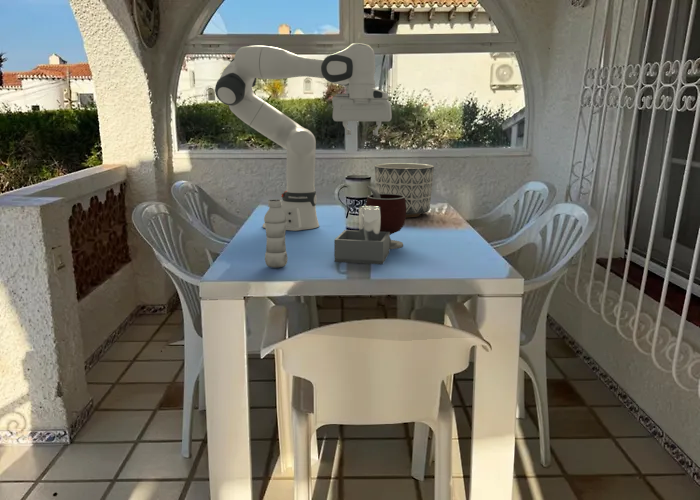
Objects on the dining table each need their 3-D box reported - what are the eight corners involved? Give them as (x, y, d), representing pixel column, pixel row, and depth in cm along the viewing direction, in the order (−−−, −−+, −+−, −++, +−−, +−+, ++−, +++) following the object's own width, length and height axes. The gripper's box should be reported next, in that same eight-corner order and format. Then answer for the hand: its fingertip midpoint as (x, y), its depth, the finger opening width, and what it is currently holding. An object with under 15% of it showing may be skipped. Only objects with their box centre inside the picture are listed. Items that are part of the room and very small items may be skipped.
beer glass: (379, 257, 180) (379, 209, 176) (356, 256, 181) (357, 208, 178) (381, 252, 187) (382, 206, 183) (360, 251, 188) (360, 205, 184)
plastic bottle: (265, 264, 175) (263, 198, 171) (288, 264, 176) (286, 198, 171) (264, 270, 169) (262, 202, 164) (287, 269, 170) (286, 201, 165)
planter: (433, 210, 271) (434, 163, 266) (430, 220, 246) (432, 168, 241) (377, 209, 276) (378, 162, 270) (370, 218, 251) (370, 167, 246)
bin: (334, 261, 179) (334, 239, 177) (344, 250, 193) (344, 230, 191) (382, 264, 176) (383, 241, 174) (389, 252, 190) (389, 231, 188)
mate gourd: (413, 245, 201) (415, 187, 197) (387, 251, 192) (388, 191, 187) (380, 238, 212) (381, 183, 207) (353, 244, 202) (353, 187, 198)
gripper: (330, 93, 196) (330, 135, 199) (390, 93, 192) (389, 135, 196) (334, 94, 202) (334, 134, 205) (392, 93, 198) (392, 134, 202)
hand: (361, 135), depth 201 cm, fingers open, 8 cm apart
